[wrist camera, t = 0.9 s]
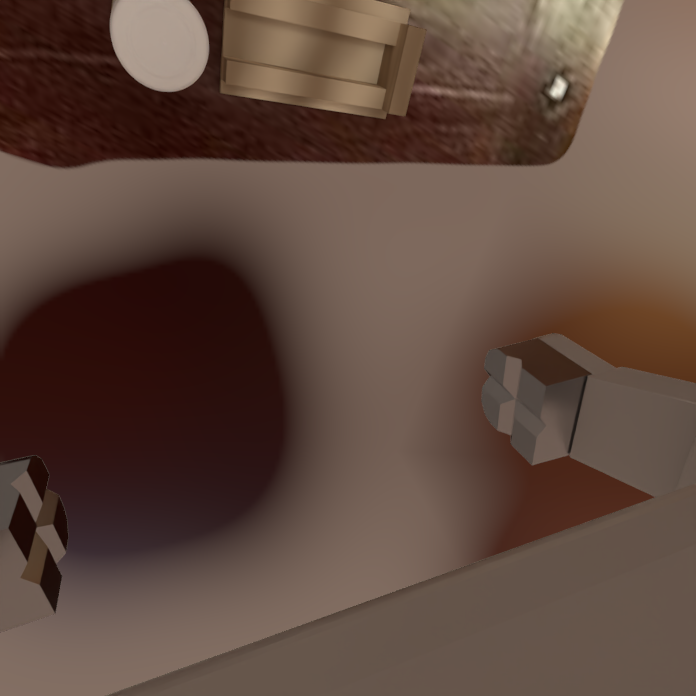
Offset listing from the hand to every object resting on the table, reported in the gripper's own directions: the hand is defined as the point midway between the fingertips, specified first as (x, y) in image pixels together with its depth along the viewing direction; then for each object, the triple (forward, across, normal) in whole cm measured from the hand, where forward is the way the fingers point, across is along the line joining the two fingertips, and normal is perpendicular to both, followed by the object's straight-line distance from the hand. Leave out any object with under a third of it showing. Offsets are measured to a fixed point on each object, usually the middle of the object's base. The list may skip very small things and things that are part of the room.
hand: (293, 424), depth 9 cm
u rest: (+36, -11, -7) cm, 38 cm away
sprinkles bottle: (+36, 0, -9) cm, 37 cm away
